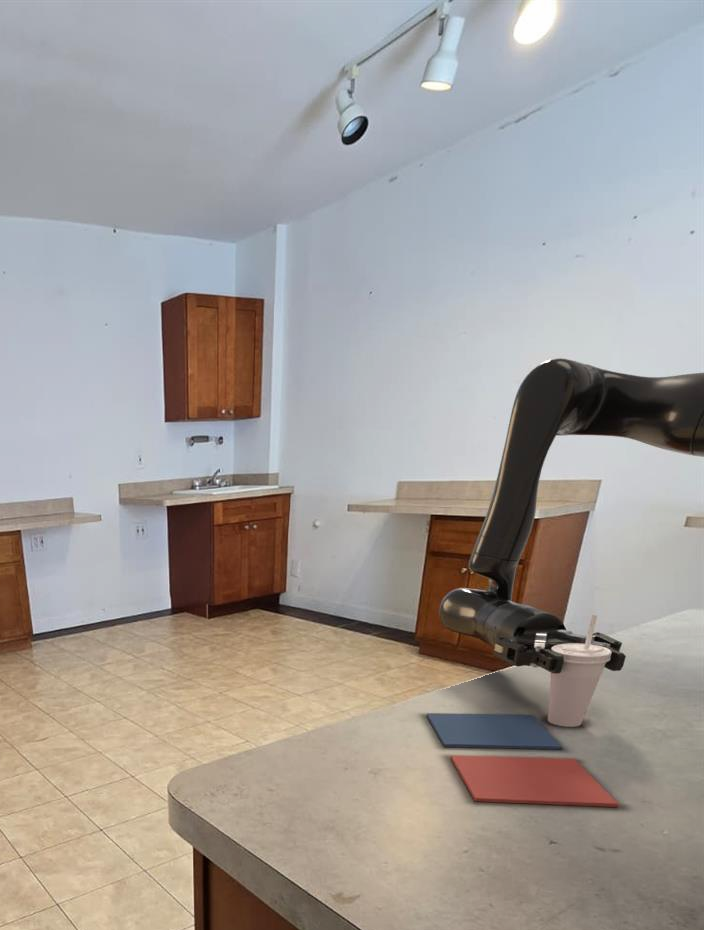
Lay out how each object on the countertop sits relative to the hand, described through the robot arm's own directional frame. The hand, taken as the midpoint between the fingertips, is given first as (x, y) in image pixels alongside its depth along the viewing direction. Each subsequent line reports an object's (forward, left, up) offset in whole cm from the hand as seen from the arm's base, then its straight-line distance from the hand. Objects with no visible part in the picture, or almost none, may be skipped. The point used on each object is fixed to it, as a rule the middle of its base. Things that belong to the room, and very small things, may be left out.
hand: (589, 664), depth 78 cm
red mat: (+10, +16, -8) cm, 21 cm away
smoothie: (0, -2, -9) cm, 9 cm away
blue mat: (+10, +2, -8) cm, 13 cm away
